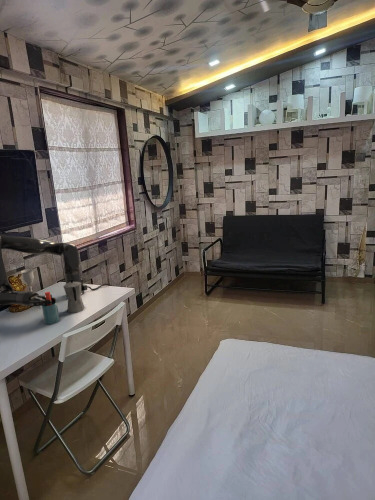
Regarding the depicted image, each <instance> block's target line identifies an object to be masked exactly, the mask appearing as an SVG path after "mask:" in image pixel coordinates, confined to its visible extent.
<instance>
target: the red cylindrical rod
mask: <svg viewBox="0 0 375 500" xmlns="http://www.w3.org/2000/svg"><path fill="white" fill-rule="evenodd" d="M50 294H51V292H50V291H46V292H44V295H45V297H46V300H51V296H50ZM51 305H52V304H51ZM47 306H50V304H47Z"/></svg>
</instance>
